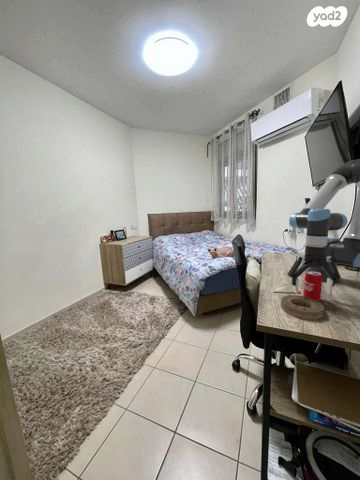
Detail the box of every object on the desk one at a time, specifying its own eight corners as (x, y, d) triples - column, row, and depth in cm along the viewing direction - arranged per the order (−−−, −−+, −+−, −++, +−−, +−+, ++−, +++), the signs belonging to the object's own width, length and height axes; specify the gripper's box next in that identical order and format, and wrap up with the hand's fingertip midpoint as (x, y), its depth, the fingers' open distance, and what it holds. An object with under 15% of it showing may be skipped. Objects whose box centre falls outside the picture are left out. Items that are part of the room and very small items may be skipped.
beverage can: (304, 294, 89) (306, 269, 87) (320, 298, 85) (323, 272, 83) (302, 299, 84) (304, 273, 82) (319, 303, 80) (322, 276, 79)
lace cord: (299, 292, 91) (299, 290, 91) (300, 293, 90) (300, 291, 90) (272, 291, 93) (272, 289, 93) (272, 292, 92) (273, 290, 92)
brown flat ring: (310, 301, 82) (310, 295, 82) (331, 320, 68) (332, 312, 68) (276, 300, 84) (276, 294, 83) (290, 318, 70) (290, 311, 70)
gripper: (342, 244, 83) (337, 290, 86) (281, 243, 86) (278, 288, 89) (355, 247, 76) (349, 297, 79) (288, 246, 79) (285, 295, 82)
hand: (311, 292), depth 84 cm, fingers open, 13 cm apart
